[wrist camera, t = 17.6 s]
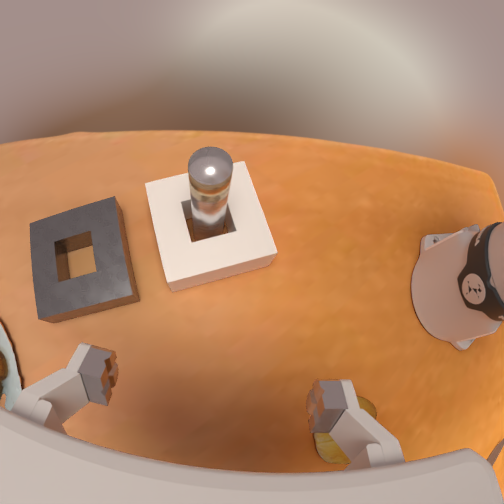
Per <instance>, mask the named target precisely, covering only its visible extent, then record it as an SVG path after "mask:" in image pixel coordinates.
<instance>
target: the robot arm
mask: <svg viewBox="0 0 504 504" xmlns="http://www.w3.org/2000/svg"><path fill="white" fill-rule="evenodd" d="M411 290H412V299H413V304H414V308H415V311H416V313H417V316H418V318H419V320H420V322H421V323H422V325H423V326H424V328H425V329H426V330H427V331H428V332H429V333H430V334H431V335H433V336H434V337H436V338H438V339H440V340H444V341H448V342H450V343H451V344H452V345H453V346H454V347H456V348H457V349H458V350H460V351H462V350H465V349H467V348H468V347H469V346H470V345H471V343H472V342H473V341H474V340H475V339H476V338H478V337H482V336H486V335H489V334H493V333H495V332H496V331H497V328H498V327H499V326H500V325H501V323H502V321H504V222H503V223H502V222H497V223H494V224H492V225H489V226H487V227H485V228H484V229H482V230H481V231H480V229H479V226H478V225H477V224H476V225H472V226H470V227H465V228H463V229H461V230H460V231H458V232H456V233H448V234H431V235H426V236H424V237H423V238H422V240H421V247H420V256H419V259H418V261H417V263H416V265H415V268H414V271H413V275H412V284H411ZM116 358H117V357H116V352H115V351H112V350H109V349H105V348H101V347H98V346H94V345H90V344H86V343H83V342H82V343H80V344H79V346H78V347H77V349H76V351H75V353H74V354H73V356H72V358H71V360H70V362H69V364H68V365H67V367H66V369H64V368H62V369H60V370H58V371H56V372H55V373H53V374H51V375H49V376H47V377H45V378H44V379H42V380H40V381H38V382H36V383H34V384H33V385H31V386H29V387H27V388H25V389H23V390H22V391H21V393H20V395H19V397H18V398H17V400H16V402H15V404H14V406H13V408H12V409H11V411H9V410H7V409H5V408H3V407H1V406H0V504H504V501H503V497H502V494H501V490H500V487H499V484H498V481H497V478H496V475H495V472H494V470H493V468H492V466H491V464H490V463H489V462H488V461H487V460H486V459H484V458H483V457H482V456H480V455H479V454H478V453H476V452H475V451H473V450H472V449H469V448H464V449H460V450H456V451H453V452H449V453H445V454H441V455H437V456H433V457H428V458H424V459H419V460H414V461H409V462H405V460H404V456H403V453H402V450H401V447H400V444H399V441H398V439H396V438H395V437H394V436H393V435H392V434H391V433H390V432H388V431H387V430H386V429H385V428H384V427H383V426H382V425H381V424H379V423H378V422H377V421H376V420H375V419H374V418H373V417H372V416H371V415H369V414H368V413H367V412H366V411H365V410H364V409H360V406H359V403H358V400H357V397H356V393H355V390H354V387H353V384H352V381H351V380H342V379H339V380H338V379H316V380H315V381H314V383H313V389H312V390H310V391H309V393H308V396H307V401H306V408H307V412H308V413H309V414H310V415H311V416H310V418H309V420H308V422H309V428H310V433H329V435H330V436H331V437H332V438H333V440H334V441H335V442H336V443H337V445H338V446H339V447H340V448H341V450H342V451H343V452H344V453H345V454H346V456H347V457H348V458H349V459H350V460H351V463H350V464H349V466H348V467H347V468H346V469H345V470H344V471H330V472H309V473H268V472H247V471H233V470H222V469H213V468H204V467H197V466H190V465H183V464H177V463H171V462H166V461H160V460H155V459H151V458H146V457H141V456H137V455H133V454H129V453H125V452H121V451H117V450H113V449H110V448H106V447H103V446H99V445H96V444H93V443H89V442H86V441H83V440H80V439H77V438H74V437H71V436H69V435H67V433H66V431H65V430H64V428H63V426H62V423H64V422H65V421H66V420H67V419H69V418H70V417H71V416H72V415H74V414H75V413H76V412H78V411H79V410H80V409H81V408H83V407H84V406H85V405H86V404H88V403H89V401H90V402H94V403H98V404H102V405H106V406H108V404H109V401H110V398H111V396H112V391H111V388H112V387H114V386H115V385H116V382H117V379H118V364H117V363H116V362H115V360H116Z"/></svg>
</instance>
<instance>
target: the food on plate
mask: <svg viewBox="0 0 504 504" xmlns="http://www.w3.org/2000/svg"><path fill="white" fill-rule="evenodd" d="M21 391H22V389H21V377H20V376H19V375H18V371H17V365H16V361H15V354H14V353H13V351H12V343H11V341H10V340H9V338H8V336H7V333H6V331H5V330H4V326H3V324H2V323H1V321H0V399H1V396H2V394H4V393H5V395H6V402H5V408H6V409H7V410H9V411H11V409H12V408H13V406H14V404H15V402H16V400H17V398H18V397H19V395H20V393H21Z"/></svg>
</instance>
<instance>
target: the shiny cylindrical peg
mask: <svg viewBox="0 0 504 504" xmlns="http://www.w3.org/2000/svg"><path fill="white" fill-rule="evenodd" d="M232 172H233V162H232V159H231V157H230V155H229V154H228V153H227V152H226V151H224V150H222V149H220V148H217V147H205V148H201V149H199V150H197V151H196V152H195V153H193V155H192V156H191V157H190V159H189V163H188V176H189V188H190V197H191V210H192V222H193V234H194V238H195V240H196V241H200V240H204V239H208V238H211V237H215V236H219V235H223V228H224V221H225V214H226V208H227V201H228V194H229V190H230V185H231V179H232Z"/></svg>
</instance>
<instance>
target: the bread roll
mask: <svg viewBox="0 0 504 504" xmlns="http://www.w3.org/2000/svg"><path fill="white" fill-rule="evenodd" d="M356 397H357V400H358V403H359V406H360V409H364V410H365V411H366V412H367V413H368V414H369V415H371V416H372V417H373V418H374V419H376V416H377V412H376V408H375V406H374V405H373V404H372V403H371V402H370V401H368V400H367V399H365V398H362V397H358V396H356ZM314 438H315V442H316V449H317V451H318V453H319V455H320V456H321V458H322V459H323V460H324V461H326V462H328V463H335V464H350V463H351V460H350V459H349V458H348V457H347V456H346V454H345V453H344V452H343V451H342V450H341V448H340V447H339V446H338V445H337V443H336V442H335V441H334V440H333V438H332V437H331V436H330V435H329V433H314Z"/></svg>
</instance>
